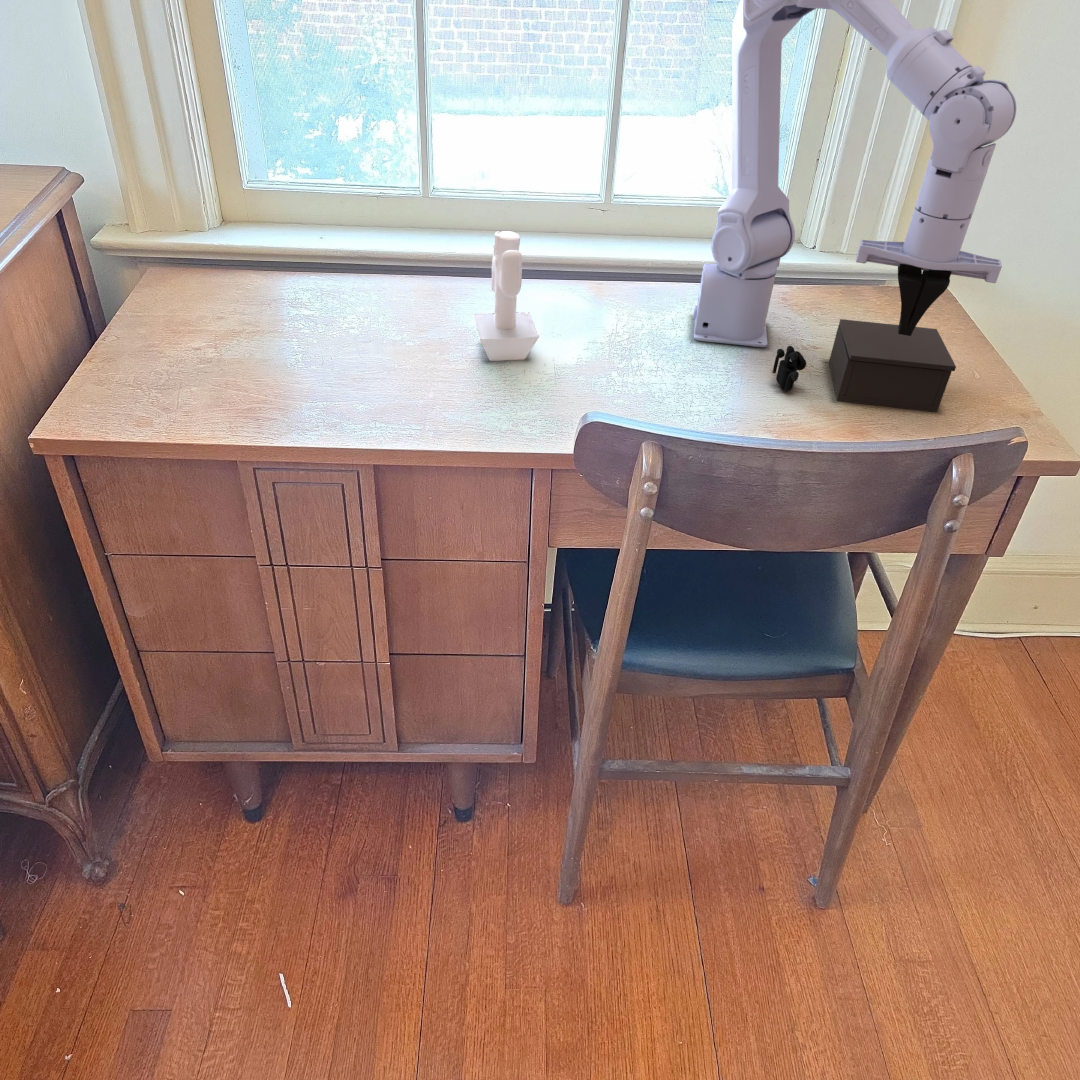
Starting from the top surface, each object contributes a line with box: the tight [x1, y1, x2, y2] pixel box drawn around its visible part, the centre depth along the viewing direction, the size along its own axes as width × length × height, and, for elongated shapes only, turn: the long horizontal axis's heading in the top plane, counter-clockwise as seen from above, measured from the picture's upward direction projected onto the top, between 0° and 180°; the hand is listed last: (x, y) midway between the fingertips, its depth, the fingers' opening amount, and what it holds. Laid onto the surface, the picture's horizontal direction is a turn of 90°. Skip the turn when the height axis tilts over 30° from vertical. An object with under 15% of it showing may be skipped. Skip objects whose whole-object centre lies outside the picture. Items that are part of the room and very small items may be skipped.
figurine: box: [472, 230, 540, 362], centre depth 108 cm, size 7×9×15 cm
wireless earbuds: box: [771, 345, 807, 394], centre depth 107 cm, size 7×2×5 cm, turn 5°
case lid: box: [838, 318, 957, 372], centre depth 106 cm, size 11×12×1 cm
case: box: [828, 323, 953, 413], centre depth 108 cm, size 10×12×5 cm
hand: (904, 331), depth 102 cm, fingers closed
